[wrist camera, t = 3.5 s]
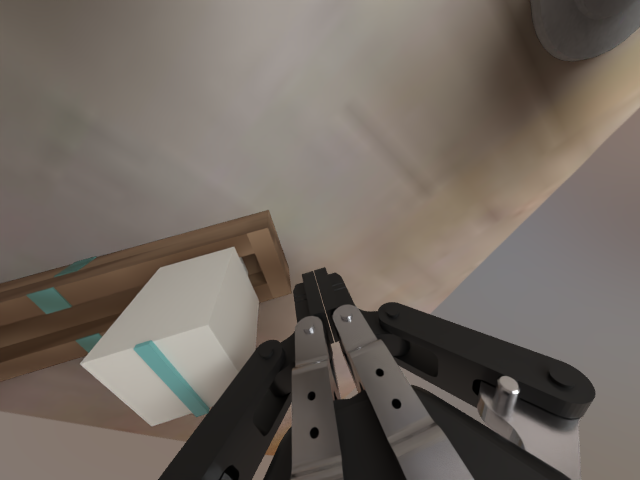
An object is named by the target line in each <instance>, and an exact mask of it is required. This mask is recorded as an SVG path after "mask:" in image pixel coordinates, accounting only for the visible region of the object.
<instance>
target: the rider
mask: <svg viewBox="0 0 640 480" xmlns="http://www.w3.org/2000/svg"><path fill="white" fill-rule="evenodd" d="M258 310H259V299H258V297H257V295H256V293H255V291H254V289H253V286H252V284H251V282H250V280H249V278H248V270H247V268H246V266H245V264H244V262H243V259H242V257H240V258H239V256H238V254H237V252H236V249H235V247H231V248H227V249H224V250H220V251H217V252H213V253H210V254H206V255H203V256H199V257H196V258H192V259H189V260H185V261H181V262H178V263H174V264H171V265H167V266H164V267H160V268H159V269H158V270H157V272H156V273H155V274H154V275H153V276H152V278H151V279H150V280H149V281H148V282H147V284H146V285H145V286H144V287H143V288H142V290H141V291H140V292H139V293H138V294H137V296H136V297H135V298H134V299H133V300H132V302H131V303H130V304H129V305H128V306H127V308H126V309H125V310H124V311H123V312H122V314H121V315H120V316H119V317H118V318H117V320H116V321H115V322H114V323H113V324H112V326H111V327H110V328H109V329H108V330H107V332H106V333H105V334H104V335H103V337H102V338H101V339H100V340H99V341H98V343H97V344H96V345H95V346H94V347H93V349H92V350H91V351H90V352H89V353H88V355H87V356H86V357H85V358H84V359H83V361H82V362H81V363H80V365H81V366H83V367H84V368H85V369H86V370H87V371H88V372H90V373H91V374H92V375H93V376H94V377H95V378H96V379H98V380H99V381H100V382H101V383H102V384H103V385H105V386H106V387H107V388H108V389H109V390H110V391H111V392H113V393H114V394H115V395H116V396H117V397H118V398H119V399H121V400H122V401H123V402H124V403H125V404H126V405H128V406H129V407H130V408H131V409H132V410H133V411H134V412H136V413H137V414H138V415H139V416H140V417H141V418H143V419H144V420H145V421H146V422H147V423H148V424H149V425H151V426H155V425H158V424H161V423H164V422H167V421H170V420H173V419H176V418H179V417H182V416H185V415H188V414H191V413H193V414H194V415H195V416H196V417H198V416H201V415H204V414H207V413H209V407H212V406H214V405H215V403H216V402H217V401H218V399H219V398H220V397H221V395H222V394H223V393H224V391H225V390H226V389H227V387H228V386H229V385H230V383H231V382H232V381H233V379H234V378H235V377H236V375H237V374H238V373H239V371H240V370H241V369H242V367H243V366H244V365H245V363H246V362H247V361H248V359H249V358H250V357H251V355H252V354H253V353H254V352H255V349H256V336H257V323H258Z"/></svg>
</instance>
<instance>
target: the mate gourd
mask: <svg viewBox="0 0 640 480" xmlns="http://www.w3.org/2000/svg"><path fill="white" fill-rule="evenodd" d="M530 1H531V11H532V20H533V24H534V27H535V31H536V34H537V37H538V38H539V40H540V42H541V44H542V46H543V47H544V48H545V49H546V50H547V51H548V52H549V53H550V54H551V55H552V56H554V57H556V58H558V59H561V60H563V61H579V60H583V59H588V58H592V57H597V56H599V55H601V54H603V53H605V52H608V51H610V50H611V49H613V48H614V47H616V46H617V45H619V44H620V43H622V42H623V41H625V40H626V39H627V38H628V37H629V36H630V35H631V34H632V33H634V32H635V31H636V30H637V29H638V28H639V27H640V0H530Z"/></svg>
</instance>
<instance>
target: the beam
mask: <svg viewBox="0 0 640 480" xmlns="http://www.w3.org/2000/svg"><path fill="white" fill-rule="evenodd" d="M231 247H235V249H236V252H237V254H238V256H239V258H240V257H242V259H243V262H244V264H245V266H246V268H247V270H248V278H249V280H250V282H251V284H252V286H253V289H254V291H255V293H256V295H257V297H258V299H259V303H261V302H264V301H268V300H271V299H274V298H278V297H281V296H284V295H288V294H291V293H292V292H291V284H290V275H289V267H288V264H287V261H286V258H285V256H284V253H283V250H282V247H281V244H280V241H279V238H278V235H277V232H276V230H275V227H274V224H273V221H272V218H271V215H270V212H269V210H267V211H263V212H260V213H256V214H252V215H249V216H245V217H241V218H238V219H234V220H231V221H227V222H223V223H220V224H216V225H212V226H209V227H205V228H201V229H198V230H194V231H191V232H187V233H183V234H180V235H176V236H172V237H169V238H165V239H161V240H158V241H154V242H151V243H147V244H143V245H140V246H136V247H132V248H129V249H125V250H121V251H118V252H114V253H111V254H107V255H103V256H100V257H96V256H95V257H92V258H88V259H85V260H81V261H77V262H75V263H73V264H71V265H67V266H63V267H60V268H56V269H52V270H49V271H45V272H41V273H38V274H34V275H30V276H27V277H23V278H20V279H16V280H12V281H9V282H5V283H1V284H0V382H1V381H4V380H7V379H11V378H14V377H17V376H21V375H24V374H27V373H31V372H34V371H37V370H40V369H44V368H47V367H50V366H54V365H57V364H60V363H63V362H67V361H70V360H73V359H77V358H80V357H83V356H87V355H88V353H89V352H90V351H91V350H92V349H93V347H94V346H95V345H96V344H97V343H98V341H99V340H100V339H101V338H102V337H103V335H104V334H105V333H106V332H107V330H108V329H109V328H110V327H111V326H112V324H113V323H114V322H115V321H116V320H117V318H118V317H119V316H120V315H121V314H122V312H123V311H124V310H125V309H126V308H127V306H128V305H129V304H130V303H131V302H132V300H133V299H134V298H135V297H136V296H137V294H138V293H139V292H140V291H141V290H142V288H143V287H144V286H145V285H146V284H147V282H148V281H149V280H150V279H151V278H152V276H153V275H154V274H155V273H156V272H157V270H158V269H159V268H160V267H164V266H167V265H171V264H174V263H178V262H181V261H185V260H189V259H192V258H196V257H199V256H203V255H206V254H210V253H213V252H217V251H220V250H224V249H227V248H231Z"/></svg>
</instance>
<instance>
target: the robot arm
mask: <svg viewBox="0 0 640 480" xmlns="http://www.w3.org/2000/svg"><path fill="white" fill-rule="evenodd" d="M314 272H315V276H316V279H317V283H318V286H319V289H320V293H321V296H322V300H323V303H324V306H325V310H326V313H327V316H328V320H329V323H330V326H331V330H332V333H333V336H334V340H335V342H338V341H339V343H340V346H341V349H342V353H343V356H344V359H345V361H346V364H347V366H348V368H349V371H350V373H351V376H352V378H353V381H354V383H355V385H356V388H357V391H358V394H357V395H355V396H354V397H352V398H350V399H341V397H340V392H339V386H338V381H337V376H336V370H335V365H334V359H333V352H332V348H331V344H332V343H334V341H333V337H332V334H331V331H330V327H329V324H328V320H327V317H326V313H325V310H324V307H323V303H322V300H321V296H320V293H319V290H318V286H317V283H316V279H315V276H314V273H313V271H311V272H308V273H305V274H302V278H303V283H300V284H297V285H295V288H294V290H293V294H294V301H295V309H296V317H297V325H296V327H295V331H294V333H293V334H292V335H291V336H290V337H289V338H287V339H286V340H284V341H283V342H281V343H280V342H279V341H277V340H269V341H266V342H264V343H262V344H261V345H260V346H259V347H258V348H257V349H256V350H255V352H254V353H253V354H252V355H251V357H250V358H249V359H248V361H247V362H246V363H245V365H244V366H243V367H242V369H241V370H240V371H239V373H238V374H237V375H236V377H235V378H234V379H233V381H232V382H231V383H230V385H229V386H228V387H227V389H226V390H225V391H224V393H223V394H222V395H221V397H220V398H219V399H218V401H217V402H216V403H215V405H214V406H213V407H212V409H211V410H210V411H209V413H208V414H207V415H206V417H205V418H204V419H203V421H202V422H201V423H200V425H199V426H198V427H197V429H196V430H195V431H194V433H193V434H192V435H191V437H190V438H189V439H188V440H187V442H186V443H185V445H184V446H183V447H182V448H181V450H180V451H179V452H178V454H177V455H176V456H175V458H174V459H173V461H172V462H171V463H170V464H169V466H168V467H167V468H166V470H165V471H164V472H163V474H162V475H161V476H160V478H159V479H158V480H252V478H253V476H254V474H255V472H256V470H257V468H258V466H259V464H260V463H261V461H262V459H263V457H264V455H265V453H266V451H267V449H268V447H269V445H270V443H271V441H272V439H273V437H274V435H275V433H276V432H277V430H278V428H279V426H280V424H281V422H282V420H283V418H284V416H285V414H286V412H287V410H288V408H289V406H290V404H291V402H292V426H291V428H290V429H289V430H288V431H287V433H286V434H285V435H284V437H283V439H282V440H281V442H280V444H279V446H278V448H277V450H276V453H275V455H274V457H273V459H272V461H271V464H270V466H269V468H268V470H267V472H266V475H265V477H264V479H263V480H581V467H580V446H579V426H578V424H579V422H580V420H581V419H582V417H583V415H584V414H585V412H586V411H587V409H588V407H589V406H590V404H591V402H592V401H593V399H594V398H595V389H594V387H593V385H592V383H591V382H590V381H589V379H588V378H587V377H586V376H585V375H584V374H582V373H581V372H580V371H579V370H577V369H576V368H574V367H572V366H571V365H569V364H567V363H564V362H562V361H559V360H556V359H553V358H551V357H548V356H545V355H542V354H540V353H537V352H534V351H531V350H528V349H526V348H523V347H520V346H517V345H514V344H511V343H508V342H506V341H503V340H500V339H498V338H494V337H492V336H489V335H486V334H483V333H481V332H477V331H475V330H472V329H469V328H466V327H464V326H461V325H458V324H455V323H453V322H450V321H447V320H444V319H441V318H439V317H436V316H433V315H430V314H427V313H424V312H422V311H419V310H416V309H413V308H410V307H408V306H405V305H402V304H399V303H395V302H389V303H386V304H383V305H382V306H381V307H380V308H379V309H378V311H373V312H367V311H363V310H360V309H358V308H357V307H356V306H355V304H354V302H353V300H352V298H351V296H350V294H349V292H348V290H347V288H346V286H345V284H344V281H343V279H342V277H341V276H340V275H338V274H337V273H332V274H329V275H328V273H327V271H326V268H325V267H324V268H321V269H318V270H314ZM398 365H399V366H401V367H402V368H404V369H406V370H408V371H410V372H412V373H413V374H415V375H417V376H419V377H421V378H423V379H424V380H426V381H428V382H430V383H432V384H434V385H435V386H437V387H439V388H441V389H443V390H445V391H446V392H448V393H450V394H452V395H454V396H456V397H458V398H459V399H461V400H463V401H465V402H467V403H469V404H470V405H472V406H474V407H476V408H477V409H478V413H479V415H480V417H481V418H482V420H483V421H484V422H485V424H486V425H487V426H488V427H490V428H491V429H492V430H491V429H490V428H488V427H486V426H485V425H483V424H481V423H480V422H478V421H476V420H475V419H473V418H472V417H470V416H468V415H466V414H465V413H463V412H461V411H460V410H458V409H457V408H455V407H454V406H452V405H450V404H448V403H447V402H445V401H444V400H442V399H440V398H439V397H437V396H435V395H434V394H432V393H430V392H429V391H427V390H425V389H423V388H420V387H417V386H414V385H410V384H409V382H408V380H407V379H406V377H405V376H404V374H403V373H402V371H401V369H400V368H399V366H398Z"/></svg>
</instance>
